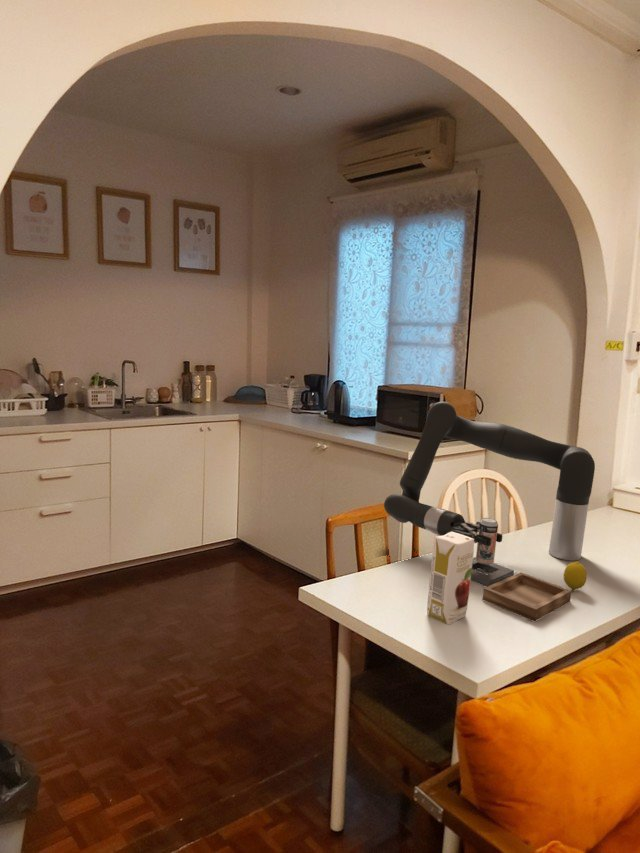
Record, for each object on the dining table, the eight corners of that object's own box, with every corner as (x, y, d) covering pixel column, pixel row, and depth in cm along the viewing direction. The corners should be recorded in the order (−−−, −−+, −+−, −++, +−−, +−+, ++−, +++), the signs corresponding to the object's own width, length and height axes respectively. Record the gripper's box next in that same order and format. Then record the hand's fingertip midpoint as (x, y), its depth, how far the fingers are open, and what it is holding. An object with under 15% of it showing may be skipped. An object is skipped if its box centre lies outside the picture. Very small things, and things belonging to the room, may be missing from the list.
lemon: (582, 588, 166) (586, 559, 165) (585, 596, 161) (590, 567, 160) (560, 584, 168) (564, 556, 166) (563, 592, 162) (567, 563, 161)
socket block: (475, 563, 179) (476, 556, 179) (513, 577, 170) (514, 570, 170) (451, 572, 171) (451, 565, 170) (489, 587, 162) (490, 580, 162)
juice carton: (421, 614, 144) (429, 536, 141) (443, 605, 150) (451, 529, 147) (449, 627, 139) (458, 546, 136) (470, 616, 145) (479, 538, 142)
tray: (519, 582, 167) (520, 572, 166) (570, 602, 157) (571, 590, 156) (482, 599, 155) (483, 588, 154) (534, 621, 145) (535, 609, 144)
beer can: (475, 564, 168) (480, 521, 166) (475, 557, 173) (480, 516, 171) (493, 566, 167) (498, 523, 165) (493, 560, 172) (498, 518, 170)
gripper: (429, 514, 174) (482, 532, 161) (459, 506, 183) (511, 522, 171) (427, 540, 175) (479, 559, 163) (457, 531, 184) (508, 548, 172)
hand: (495, 540), depth 167 cm, fingers closed on beer can, 4 cm apart
